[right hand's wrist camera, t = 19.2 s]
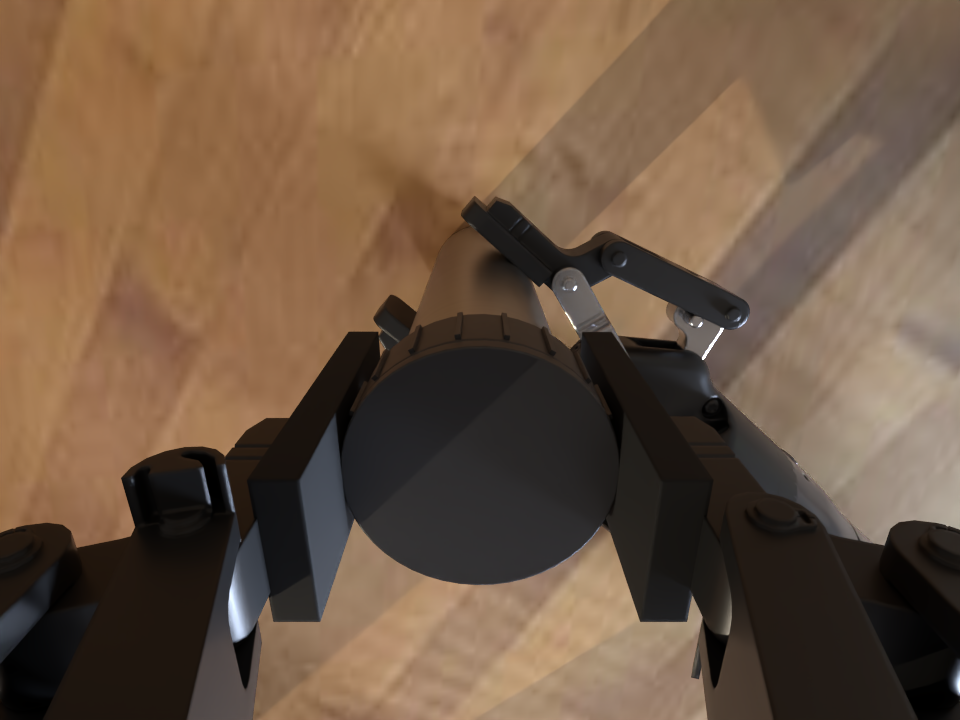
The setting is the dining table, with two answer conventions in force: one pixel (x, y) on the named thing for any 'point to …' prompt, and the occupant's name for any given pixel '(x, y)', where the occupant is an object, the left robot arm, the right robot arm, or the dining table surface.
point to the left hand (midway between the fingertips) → (424, 259)
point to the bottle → (477, 284)
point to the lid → (480, 451)
